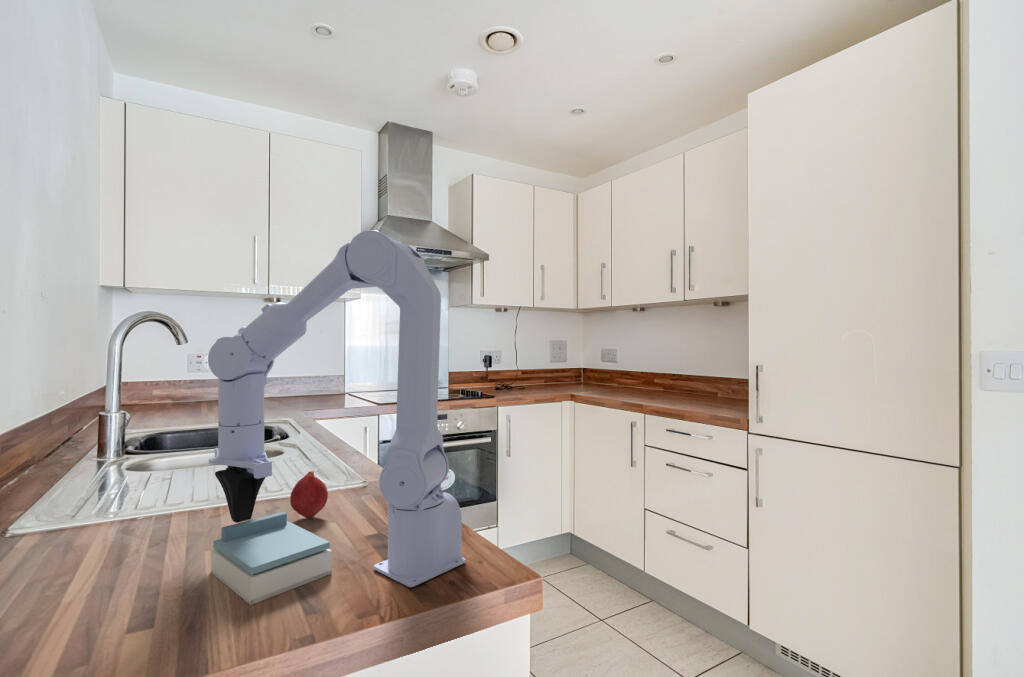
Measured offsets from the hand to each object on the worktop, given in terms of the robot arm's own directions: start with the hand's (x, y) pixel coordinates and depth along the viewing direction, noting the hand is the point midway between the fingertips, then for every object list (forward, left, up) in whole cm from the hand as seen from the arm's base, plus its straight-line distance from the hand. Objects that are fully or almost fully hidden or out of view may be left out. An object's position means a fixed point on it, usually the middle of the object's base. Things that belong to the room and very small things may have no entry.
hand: (241, 519), depth 71 cm
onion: (-13, -6, -5) cm, 15 cm away
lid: (0, +9, -1) cm, 9 cm away
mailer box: (0, +9, -5) cm, 10 cm away
